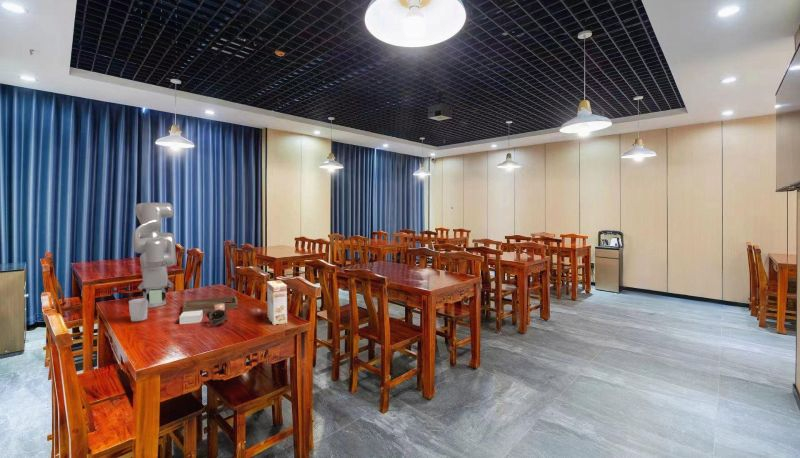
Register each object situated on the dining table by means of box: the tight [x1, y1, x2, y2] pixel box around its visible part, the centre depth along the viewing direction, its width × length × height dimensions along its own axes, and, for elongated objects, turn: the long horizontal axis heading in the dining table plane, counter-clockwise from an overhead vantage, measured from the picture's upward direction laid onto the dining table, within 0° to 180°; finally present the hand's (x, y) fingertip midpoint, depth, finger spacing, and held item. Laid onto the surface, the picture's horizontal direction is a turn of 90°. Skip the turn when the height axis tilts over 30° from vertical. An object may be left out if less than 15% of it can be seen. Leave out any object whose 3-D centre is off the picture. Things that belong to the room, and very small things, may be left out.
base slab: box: [179, 310, 204, 325], centre depth 183 cm, size 9×9×4 cm
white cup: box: [128, 298, 149, 322], centre depth 184 cm, size 8×8×10 cm
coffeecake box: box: [266, 279, 288, 326], centre depth 184 cm, size 15×7×20 cm, turn 31°
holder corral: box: [182, 295, 239, 314], centre depth 206 cm, size 17×27×4 cm, turn 118°
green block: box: [149, 288, 162, 304], centre depth 178 cm, size 5×5×6 cm
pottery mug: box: [205, 309, 229, 328], centre depth 178 cm, size 12×10×8 cm
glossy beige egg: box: [213, 303, 226, 314], centre depth 195 cm, size 5×5×5 cm
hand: (156, 300), depth 179 cm, fingers closed on green block, 5 cm apart
